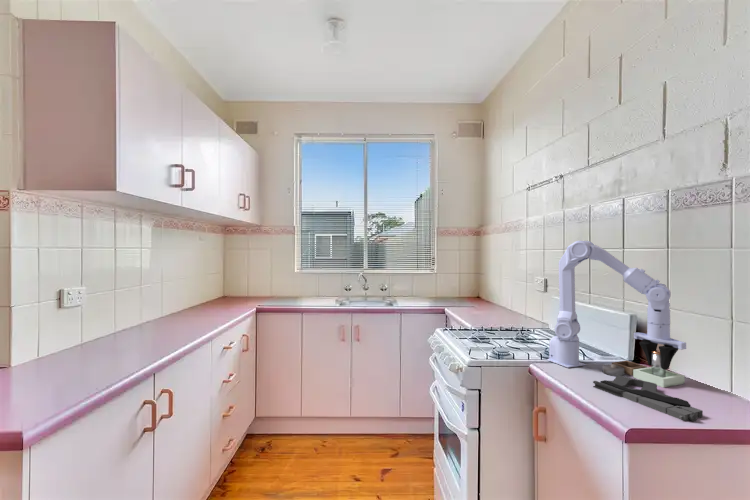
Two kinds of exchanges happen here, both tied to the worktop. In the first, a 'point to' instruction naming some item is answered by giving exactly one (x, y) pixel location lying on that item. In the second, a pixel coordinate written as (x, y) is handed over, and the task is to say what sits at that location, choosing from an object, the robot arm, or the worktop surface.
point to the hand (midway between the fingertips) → (658, 366)
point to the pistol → (649, 397)
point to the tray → (663, 382)
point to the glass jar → (657, 364)
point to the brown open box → (621, 368)
